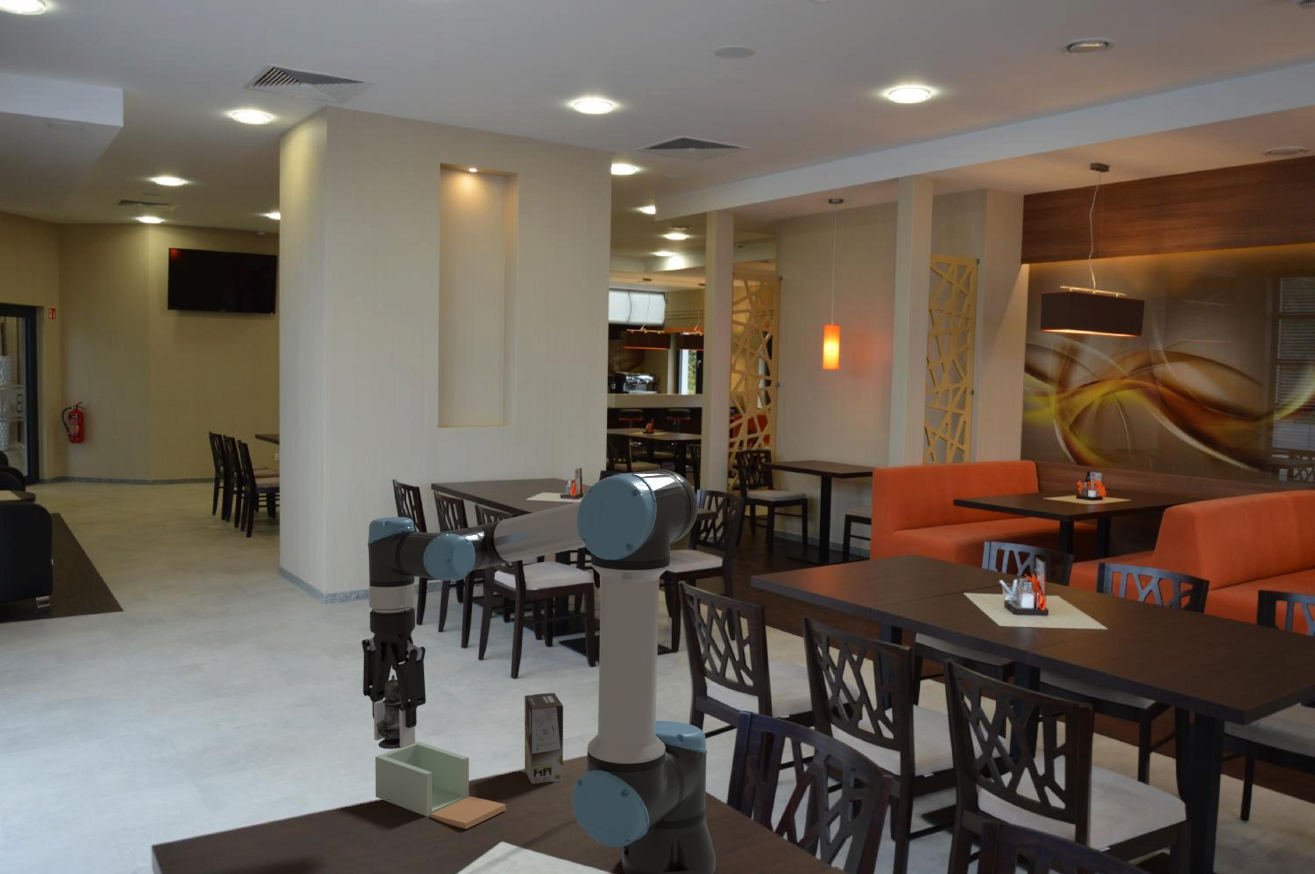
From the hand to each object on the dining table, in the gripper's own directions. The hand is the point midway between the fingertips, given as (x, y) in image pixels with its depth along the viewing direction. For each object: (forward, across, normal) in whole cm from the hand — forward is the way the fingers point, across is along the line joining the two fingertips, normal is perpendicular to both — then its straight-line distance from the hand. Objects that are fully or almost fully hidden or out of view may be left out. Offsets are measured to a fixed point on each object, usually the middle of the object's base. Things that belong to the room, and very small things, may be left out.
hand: (394, 741), depth 171 cm
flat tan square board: (+15, -3, -10) cm, 18 cm away
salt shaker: (+1, 0, 0) cm, 1 cm away
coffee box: (+16, -5, -32) cm, 37 cm away
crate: (+16, +5, -11) cm, 20 cm away
